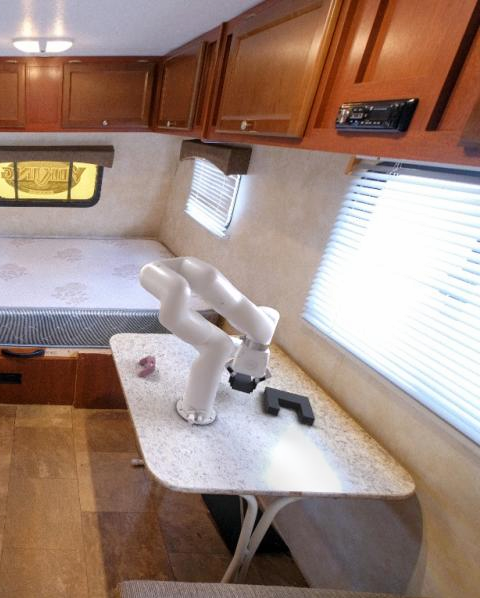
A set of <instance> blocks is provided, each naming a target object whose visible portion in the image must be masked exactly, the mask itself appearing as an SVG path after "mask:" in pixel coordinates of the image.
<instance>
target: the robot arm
mask: <svg viewBox="0 0 480 598" xmlns="http://www.w3.org/2000/svg"><path fill="white" fill-rule="evenodd" d="M138 280H139V284H140V285H141V287H142V288H143V289H144V290H145V291H146V292H147V293H149V294H150V295H152V296H153V297H154V298H156V299H157V300H159V302H160V306H159V309H158V317H157V319H158V322H159V323H160V325H161V326H163V327H164V328H166V329H167V330H168V331H169V332H170V333H171V334H172V335H174V336H175V337H177V338H178V339H179V340H181V341H182V342H184V343H186V344H188V345H190V346H191V347H192V348H193V349H195V351H197V352H198V354H199V356H198V357H196V358H195V359H194V360H193V361H192V362H191V365H190V369H189V374H188V378H187V382H186V386H185V390H184V394H183V397H181V398H180V399H179V400H177V403H176V410H177V412H178V414H179V415H180V416H181V417H182V418H183V419H184V420H186V421H187V423H188V424H189V425H194V424H196V425H209V424H211V423H213V422H214V421H215V419H216V415H217V414H216V410H215V408H214V404H215V401H216V397H217V393H218V390H219V386H220V384H221V383H220V382H221V379H222V375H223V372H224V369H226V371H227V372H228V373H229V378H228V383H229V387H231V388H232V385H233V382H234V380H235V375H236V374H237V373H242V374H245V375H249V376H251V377H252V378H251V380H252V390H251V392H250V394H251V393H253V392H254V391H255V390H256V389H257V387H258V384H260V383H261V382H263V381H266V380H268V379H271V378H272V377H273V376H272V373H271V372H270V370H269V369H268V364H269V360H270V356H271V355H270V354H271V351H270V349H269V347H270V345H271V342H272V339H273V335H274V334H275V330H276V328H277V325H278V323H279V320H280V313H279V312H278V311H277V310H276V309H274V308H272V307H269V306H263V305H260V306H257V305H256V304H254V302H252V301H251V300H250V299H249V298H247V296H245V294H243V293H241V292H240V291H239V290H238V289H237V288H236V287H235V286H234V285H233V284H232V283H231V282H230V281H229V280H228V279H227V278H226V277H225V276H224V274H222V273H221V271H220V270H218V269H217V268H216V267H214V265H211V264H210V263H207V262H205V261H203V260H201V259H199V258H197V257H196V256H195V257H194V256H179V257H172V258H165V259H159V260H154V261H151V262H148V263H147V264H145V265H144V266H143V267H142V268H141V270H140V272H139V275H138ZM191 292H194V293H195V294H196V295H197V296H198V297H199V298H200V299H202V300H203V301H204V302H205V303H206V304H207V305H208V306H209V307H210V308H211V309H213V310H214V311H215V313H217V314H219V315H220V316H221V317H223V318H224V319H226V320H227V322H228V324H229V325H230V326H231V327H233V328H234V329H236V330H237V331H238V332H240V333H242V334H244V335H240V336H239V339H240V340H242V342H241V343H240V345H239V347H238V349H237V351H236V353H235V355H234V357H233V358H231V359H229V360H228V358H229V357H230V355H231V353H232V351H233V347H234V345H233V341H232V339H231V338H230V337H231V336H230V335H229V334H228V333H226V332H225V331H224V330H222V329H221V328H220V327H218V326H217V325H215V324H213V323H212V322H210V321H209V320H207V319H206V318H205V317H204V316H203V315H202V314H201V313H199V312H198V311H196V309H194V308H192V307H191V306H189V303H190V300H191V294H192V293H191ZM229 364H232V367H231V366H229Z"/></svg>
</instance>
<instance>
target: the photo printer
mask: <svg viewBox="0 0 480 598" xmlns="http://www.w3.org/2000/svg"><path fill="white" fill-rule="evenodd" d="M230 338H231V339H232V341H233V345H234V347H233V351H232V353H231V355H230V357H229V358H228V360H229V359H231V358H233V357H234V355H235V353H236V351H237V349H238V347H239V345H240V343H241V342H242V340H240V338H237V337H233V336H230ZM229 366H231V368H232V364H229Z"/></svg>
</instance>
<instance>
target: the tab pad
mask: <svg viewBox="0 0 480 598" xmlns="http://www.w3.org/2000/svg"><path fill="white" fill-rule="evenodd" d="M231 390H234V391H237V392H241V393H245V394H248V395H250V394H251V390H252V376H249V375H245V374H242V373H237V374H236V375H235V380H234V382H233V385H232V387H231Z"/></svg>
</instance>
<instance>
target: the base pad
mask: <svg viewBox="0 0 480 598" xmlns="http://www.w3.org/2000/svg"><path fill="white" fill-rule="evenodd" d="M263 398H264V399H263V400H264V407H265V412H266V414H268V415H271V416H274V417H275V416H276V417H278V415H279V413H280V410H281V408H280V407H284V408H286V409H290V410H294V411H297V414H298V417H299V421H300V423H301V424H304V425H308V426H311V427H312V426H313V425H314V423H315V421H316V417H315V413H314V410H313V407H312V405H311V402H310V398H309V397H308V396H305V395H302V394H297V393H293V392H289V391H286V390H281V389H279V388H274V387H270V386H265V388H264V390H263Z"/></svg>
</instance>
